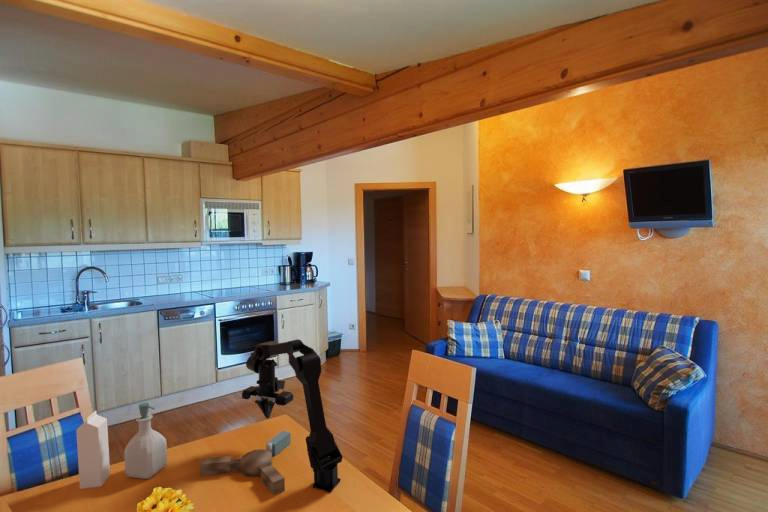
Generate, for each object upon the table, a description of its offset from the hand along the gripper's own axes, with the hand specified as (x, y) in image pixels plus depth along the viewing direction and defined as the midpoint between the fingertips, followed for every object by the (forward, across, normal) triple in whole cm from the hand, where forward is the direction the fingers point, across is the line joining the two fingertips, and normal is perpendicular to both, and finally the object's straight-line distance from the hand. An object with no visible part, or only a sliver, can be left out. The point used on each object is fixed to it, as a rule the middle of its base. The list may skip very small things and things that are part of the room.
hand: (267, 418), depth 150 cm
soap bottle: (+10, +27, +28) cm, 40 cm away
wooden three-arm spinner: (+10, -6, +17) cm, 20 cm away
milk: (+10, +37, +38) cm, 54 cm away
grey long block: (+10, -6, +3) cm, 11 cm away
